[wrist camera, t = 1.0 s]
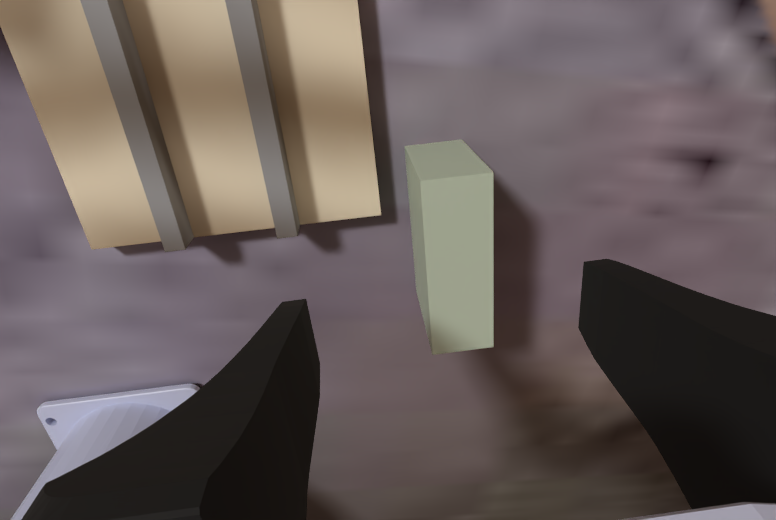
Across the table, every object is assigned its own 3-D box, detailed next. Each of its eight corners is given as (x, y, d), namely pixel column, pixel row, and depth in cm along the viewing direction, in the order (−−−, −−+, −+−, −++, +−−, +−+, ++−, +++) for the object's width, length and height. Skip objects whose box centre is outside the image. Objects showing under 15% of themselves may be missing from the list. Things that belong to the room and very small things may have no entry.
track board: (379, 207, 21) (383, 225, 19) (102, 239, 21) (77, 262, 19) (349, -66, 17) (349, -78, 15) (-4, -29, 16) (-52, -37, 14)
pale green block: (465, 284, 23) (493, 347, 19) (416, 290, 23) (432, 354, 19) (461, 139, 20) (493, 172, 16) (404, 145, 20) (420, 180, 16)
